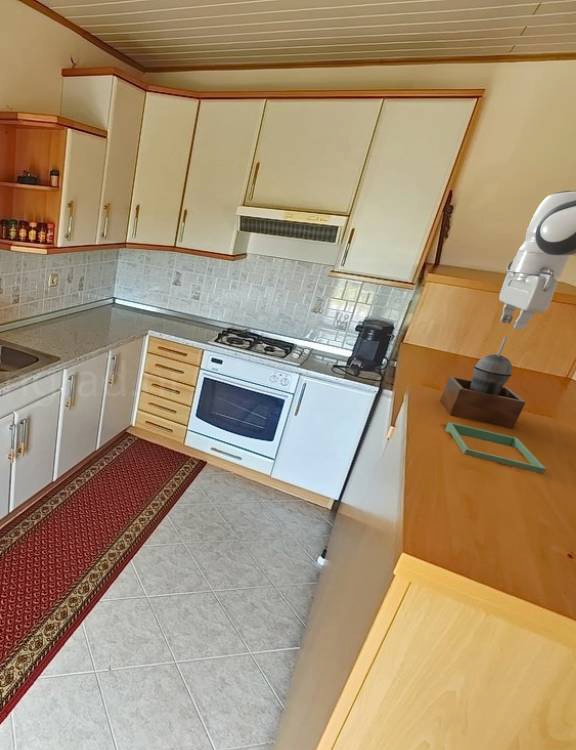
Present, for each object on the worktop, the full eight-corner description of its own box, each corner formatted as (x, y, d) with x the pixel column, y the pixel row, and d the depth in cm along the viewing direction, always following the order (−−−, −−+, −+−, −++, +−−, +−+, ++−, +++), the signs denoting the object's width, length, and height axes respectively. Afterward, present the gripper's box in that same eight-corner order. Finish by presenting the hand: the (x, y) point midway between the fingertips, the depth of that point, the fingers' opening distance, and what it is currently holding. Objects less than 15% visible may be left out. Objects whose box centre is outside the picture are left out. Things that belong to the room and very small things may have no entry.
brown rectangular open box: (497, 412, 127) (508, 387, 124) (513, 429, 116) (525, 402, 114) (439, 400, 132) (449, 375, 129) (449, 414, 121) (460, 388, 119)
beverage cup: (457, 413, 123) (489, 336, 116) (455, 405, 129) (485, 332, 122) (494, 422, 119) (529, 343, 112) (490, 414, 125) (523, 338, 118)
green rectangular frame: (512, 448, 104) (517, 437, 104) (540, 480, 91) (546, 468, 90) (444, 432, 109) (448, 421, 108) (460, 460, 96) (465, 449, 95)
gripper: (575, 272, 101) (544, 336, 106) (538, 266, 119) (513, 322, 123) (536, 267, 104) (508, 330, 108) (506, 262, 121) (483, 317, 126)
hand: (511, 325), depth 116 cm, fingers open, 8 cm apart
